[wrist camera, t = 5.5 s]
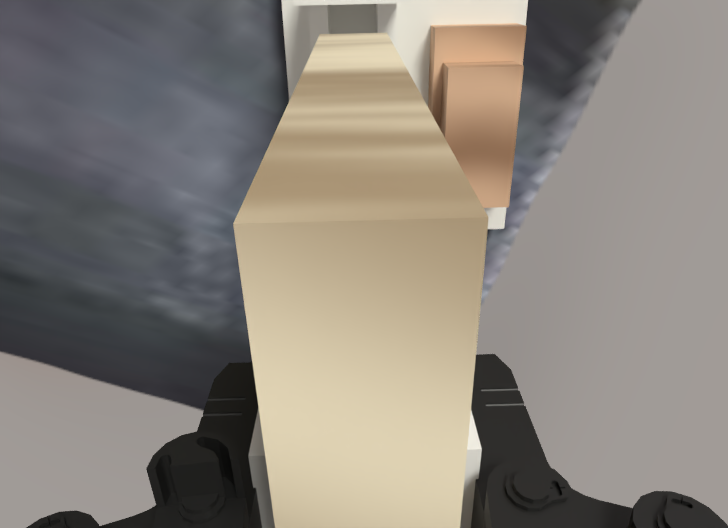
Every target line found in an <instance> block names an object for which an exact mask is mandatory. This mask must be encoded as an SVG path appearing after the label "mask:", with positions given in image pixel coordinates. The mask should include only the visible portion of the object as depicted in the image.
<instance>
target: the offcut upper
mask: <svg viewBox="0 0 728 528" xmlns="http://www.w3.org/2000/svg"><path fill="white" fill-rule="evenodd" d="M523 69H524V66H522V65H520V64H519V63H517V62H515V61H492V62H447V63H443V74H442V97H441V119H440V130H441V132H442V134H443V135H444V137H445V139H446V141H447V143H448V145H449V146H450V148H451V150H452V152H453V154H454V155H455V157H456V159H457V161H458V163H459V165H460V166H461V168H462V170H463V172H464V174H465V175H466V177H467V179H468V181H469V183H470V185H471V186H472V188H473V190H474V192H475V194H476V195H477V197H478V199H479V201H480V203H481V205H482V206H483V208H494V207H509V199H510V190H511V181H512V171H513V162H514V153H515V143H516V134H517V125H518V115H519V106H520V97H521V87H522V78H523Z"/></svg>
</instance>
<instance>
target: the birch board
mask: <svg viewBox="0 0 728 528" xmlns="http://www.w3.org/2000/svg"><path fill="white" fill-rule="evenodd" d="M488 219H489V217H488V215H487V214H486V212H485V210H484V208H483V206H482V205H481V203H480V201H479V199H478V197H477V195H476V194H475V192H474V190H473V188H472V186H471V185H470V183H469V181H468V179H467V177H466V175H465V174H464V172H463V170H462V168H461V166H460V165H459V163H458V161H457V159H456V157H455V155H454V154H453V152H452V150H451V148H450V146H449V145H448V143H447V141H446V139H445V137H444V135H443V134H442V132H441V130H440V128H439V126H438V125H437V123H436V121H435V119H434V117H433V115H432V114H431V112H430V110H429V108H428V106H427V105H426V103H425V101H424V99H423V97H422V95H421V94H420V92H419V90H418V88H417V86H416V85H415V83H414V81H413V79H412V77H411V75H410V74H409V72H408V70H407V68H406V66H405V65H404V63H403V61H402V59H401V57H400V55H399V54H398V52H397V50H396V48H395V46H394V45H393V43H392V41H391V39H390V37H389V35H388V34H387V33H351V34H320V35H319V37H318V39H317V42H316V44H315V46H314V48H313V50H312V53H311V55H310V57H309V59H308V61H307V64H306V66H305V68H304V70H303V72H302V74H301V77H300V79H299V81H298V83H297V85H296V88H295V90H294V92H293V94H292V96H291V99H290V101H289V103H288V105H287V107H286V110H285V112H284V114H283V116H282V118H281V120H280V123H279V125H278V127H277V129H276V131H275V134H274V136H273V138H272V140H271V142H270V145H269V147H268V149H267V151H266V153H265V156H264V158H263V160H262V162H261V164H260V167H259V169H258V171H257V173H256V175H255V177H254V180H253V182H252V184H251V186H250V188H249V191H248V193H247V195H246V197H245V199H244V202H243V204H242V206H241V208H240V210H239V213H238V215H237V217H236V219H235V221H234V223H233V225H234V232H235V240H236V247H237V254H238V261H239V269H240V276H241V283H242V290H243V298H244V305H245V312H246V320H247V327H248V334H249V341H250V349H251V356H252V363H253V370H254V378H255V385H256V392H257V400H258V407H259V414H260V421H261V429H262V436H263V443H264V450H265V458H266V465H267V472H268V480H269V487H270V494H271V501H272V509H273V516H274V523H275V528H460V523H461V512H462V501H463V490H464V479H465V468H466V457H467V447H468V436H469V425H470V414H471V403H472V392H473V381H474V371H475V360H476V349H477V338H478V327H479V316H480V306H481V295H482V284H483V273H484V262H485V251H486V240H487V230H488Z"/></svg>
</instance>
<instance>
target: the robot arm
mask: <svg viewBox="0 0 728 528" xmlns="http://www.w3.org/2000/svg"><path fill="white" fill-rule="evenodd" d="M147 473H148V477H149V480H150V484H151V487H152V491H153V494H154V498H155V501H156V506H155V507H152V508H151V509H149V510H147V511H145V512H143V513H140V514H137V515H135V516H132V517H129V518H126V519H122V520H119V521H116V522H112V523H109V524H106V525H102V526H99V524H98V523H97V522H96V521H95V520H94V518H93V517H92V516H91V515H89V514H86V513H82V512H79V511H65V512H58V513H55V514H52V515H49V516H47V517H44V518H41V519H39V520H38V521H36V522H34V523H33V524H32V525H30V526H28V527H27V528H275V523H274V516H273V509H272V501H271V494H270V487H269V480H268V472H267V465H266V458H265V450H264V443H263V436H262V429H261V421H260V414H259V407H258V400H257V392H256V385H255V378H254V370H253V363H252V362H251V363H229V364H228V365H227V366H226V367H225V368H224V369H223V371H222V372H221V373H220V374H219V375H218V376H217V377H216V378H215V379H214V382H213V385H212V388H211V391H210V394H209V397H208V401H207V403H206V406H205V409H204V412H203V417H202V418H201V421H200V424H199V427H198V430H197V432H194V433H190V434H185V435H181V436H179V437H178V438H176V439H174V440H172V441H170V442H168V443H166V444H165V445H164V446H163V447H162V448H161V449H160V450H159V451H158V452H156V453H155V454H154V455H153V457H152V459H151V461H150V463H149V465H148V467H147ZM460 528H728V526H727V524H726V523H725V522H724V521H723V520H722V519H721V518H720V517H719V516H718V515H716V514H715V513H714V512H713V511H712V510H711V509H710V508H709V507H707V506H705V505H704V504H702V503H700V502H698V501H697V500H695V499H693V498H691V497H688V496H684V495H682V494H678V493H675V492H668V491H654V492H651V493H649V494H646V495H643V496H641V497H640V499H639V500H638V501H637V503H636V504H635V505H634V507H633V508H629V507H625V506H621V505H617V504H613V503H609V502H604V501H600V500H596V499H594V498H591V497H588V496H585V495H583V494H581V493H579V492H577V491H575V490H573V489H572V488H571V487H570V486H569V484H568V482H567V481H566V480H565V479H564V478H563V477H562V476H561V475H560V474H559V473H558V472H557V471H556V470H554V469H552V468H551V467H550V466H549V464H548V462H547V460H546V457H545V454H544V452H543V449H542V447H541V444H540V442H539V439H538V437H537V434H536V432H535V429H534V427H533V424H532V422H531V419H530V417H529V414H528V412H527V409H526V407H525V406H524V402H523V399H522V396H521V394H520V391H518V386H517V384H516V381H515V379H514V376H513V374H512V371H511V369H510V368H509V367H507V365H506V364H504V362H502V361H501V360H500V359H499V358H498V357H497V356H496V355H495V354H485V355H484V354H483V355H476V360H475V371H474V381H473V392H472V403H471V414H470V425H469V436H468V447H467V457H466V468H465V479H464V490H463V501H462V512H461V523H460Z"/></svg>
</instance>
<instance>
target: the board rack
mask: <svg viewBox="0 0 728 528" xmlns="http://www.w3.org/2000/svg"><path fill="white" fill-rule="evenodd" d="M281 2H282V14H283V27H284V40H285V53H286V66H287V79H288V92H289V101H290V99H291V96H292V94H293V92H294V90H295V88H296V85H297V83H298V81H299V79H300V77H301V74H302V72H303V70H304V68H305V66H306V64H307V61H308V59H309V57H310V55H311V53H312V50H313V48H314V46H315V44H316V42H317V39H318V37H319V35H320V34H351V33H387V34H388V35H389V37H390V39H391V41H392V43H393V45H394V46H395V48H396V50H397V52H398V54H399V55H400V57H401V59H402V61H403V63H404V65H405V66H406V68H407V70H408V72H409V74H410V75H411V77H412V79H413V81H414V83H415V85H416V86H417V88H418V90H419V92H420V94H421V95H422V97H423V99H424V101H425V103H426V105H427V106H428V93H429V64H430V34H431V25H457V24H503V23H518V24H521V25H524V26H525V25H526V15H527V5H528V0H281ZM484 210H485V212H486V214H487V215H488V217H489V219H488V229H504V224H505V215H506V207H494V208H484Z"/></svg>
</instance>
